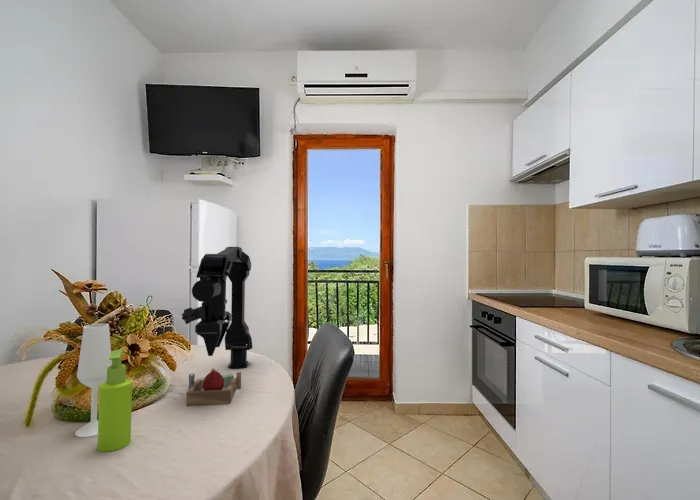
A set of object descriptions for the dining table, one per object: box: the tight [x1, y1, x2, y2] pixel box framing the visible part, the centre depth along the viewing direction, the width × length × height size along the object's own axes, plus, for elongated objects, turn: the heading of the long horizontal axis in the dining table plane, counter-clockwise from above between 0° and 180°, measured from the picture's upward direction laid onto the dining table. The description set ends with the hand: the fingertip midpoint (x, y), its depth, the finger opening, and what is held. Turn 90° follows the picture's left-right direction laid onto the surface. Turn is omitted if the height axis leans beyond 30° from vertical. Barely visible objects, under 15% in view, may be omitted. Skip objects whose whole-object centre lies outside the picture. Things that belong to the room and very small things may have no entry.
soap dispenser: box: [97, 349, 133, 453], centre depth 74 cm, size 6×7×20 cm
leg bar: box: [196, 373, 235, 391], centre depth 107 cm, size 10×2×3 cm, turn 112°
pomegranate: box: [202, 367, 225, 391], centre depth 100 cm, size 6×6×8 cm
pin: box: [188, 373, 196, 390], centre depth 105 cm, size 2×2×4 cm
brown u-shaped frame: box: [185, 371, 242, 407], centre depth 101 cm, size 12×13×4 cm
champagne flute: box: [74, 323, 112, 438], centre depth 81 cm, size 7×7×24 cm
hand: (214, 351), depth 100 cm, fingers open, 9 cm apart
